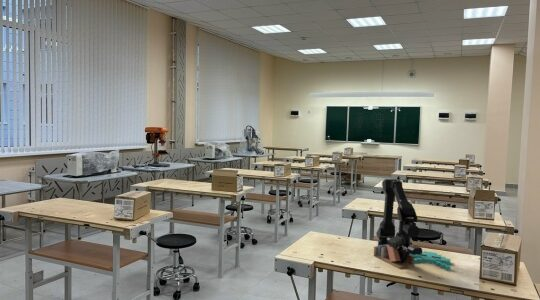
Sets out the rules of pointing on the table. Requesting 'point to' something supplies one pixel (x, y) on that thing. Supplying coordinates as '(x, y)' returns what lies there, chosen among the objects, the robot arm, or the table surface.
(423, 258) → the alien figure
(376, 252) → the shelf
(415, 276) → the table surface
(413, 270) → the table surface
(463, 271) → the table surface
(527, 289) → the table surface
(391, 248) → the salmon pink block
